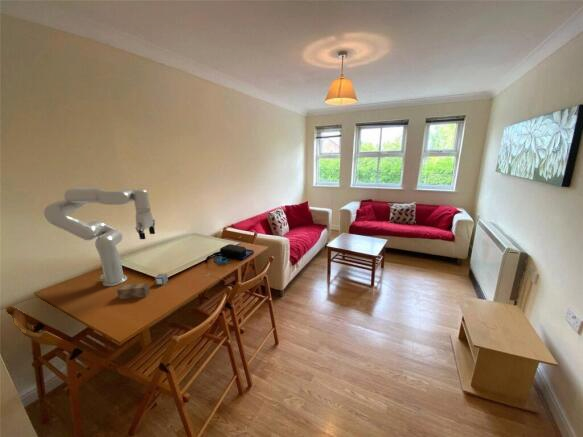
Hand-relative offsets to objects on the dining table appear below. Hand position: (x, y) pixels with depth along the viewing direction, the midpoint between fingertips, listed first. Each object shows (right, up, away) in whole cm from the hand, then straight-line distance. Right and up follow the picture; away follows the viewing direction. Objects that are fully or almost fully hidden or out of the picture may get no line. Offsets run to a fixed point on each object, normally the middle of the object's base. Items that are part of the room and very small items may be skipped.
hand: (147, 236), depth 149 cm
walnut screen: (0, -33, -13) cm, 35 cm away
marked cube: (+9, -29, 0) cm, 31 cm away
